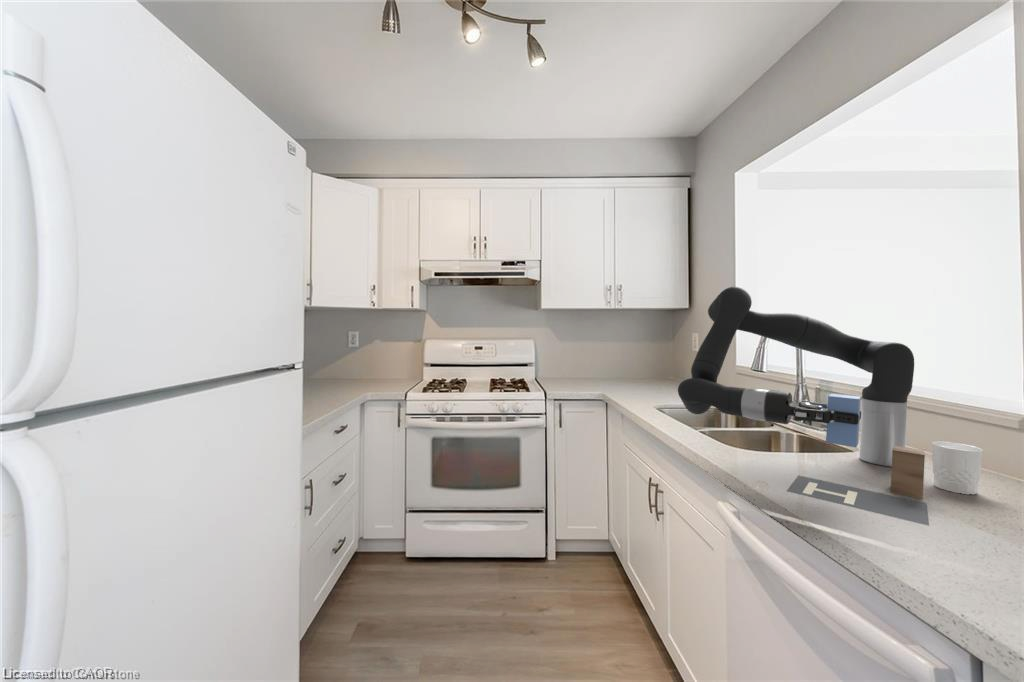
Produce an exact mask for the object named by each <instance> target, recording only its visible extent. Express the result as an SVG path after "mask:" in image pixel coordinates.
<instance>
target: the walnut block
mask: <svg viewBox="0 0 1024 682" xmlns="http://www.w3.org/2000/svg"><path fill="white" fill-rule="evenodd" d="M925 456H926V454H925V450H924V449H919V448H918V449H917V448H913V447H912V448H911V447H906V446H905V447H899V446H893V449H892V467H891V476H890V480H891V481H890V493H893V494H898V495H903V496H909V497H912V498H916V499H917V498H918V499H924V480H925V479H924V477H925V459H926V457H925Z"/></svg>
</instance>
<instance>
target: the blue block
mask: <svg viewBox="0 0 1024 682" xmlns="http://www.w3.org/2000/svg"><path fill="white" fill-rule="evenodd" d="M861 403H862V396H860V395H848V394H839V393H830V394H829V395H828V396H827V404H828V408H827V409H828V410H834V411H835V413H836V411H840V412H848V413H856V414H858V415H859V423H858V424H857V425H855V424H847V423H840V422H832V423H826V433H825V434H826V435H825V436H826V437H825V443H827V444H833V445H838V446H845V447H851V448H857V447H858V445H859V442H860V441H859V440H860V439H859V436H860V422H861V419H860V411H861Z"/></svg>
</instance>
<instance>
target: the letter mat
mask: <svg viewBox="0 0 1024 682" xmlns="http://www.w3.org/2000/svg"><path fill="white" fill-rule="evenodd" d="M786 492H789V493H793V494H797V495H801V496H803V497H805V496H806V497H809V498H812V499H813V498H814V499H817V500H821V501H826V502H830V503H834V504H838V505H842V506H846V507H850V508H854V509H858V510H864V511H867V512H871V513H874V514H879V515H884V516H887V517H892V518H896V519H900V520H904V521H909V522H912V523H917V524H921V525H925V526H930V518H929V512H928V503H927V502H924V501H920V500H915V499H910V498H906V497H900V496H898V495H897V496H896V495H891V494H886V493H884V492H883V493H881V492H878V491H872V490H868V489H863V488H859V487H854V486H849V485H846V484H845V485H844V484H841V483H835V482H833V481H832V482H831V481H827V480H826V481H825V480H822V479H816V478H813V477H808V476H803V475H797V476H796V478H795V479H794V480H793V482H792V483H791V484H790V486H789V487H788V488H787V489H786Z"/></svg>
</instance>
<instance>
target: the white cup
mask: <svg viewBox="0 0 1024 682" xmlns="http://www.w3.org/2000/svg"><path fill="white" fill-rule="evenodd" d="M931 452H932V453H931V454H932V457H931V458H932V461H931V462H932V474H933V484H934V487H936V488H938V489H940V490H944V491H948V492H950V491H951V492H950V493H956V494H960V493H961V494H962V495H969V494H972V495H971V496H973V495H977V494H978V490H979V488H978V487H979V481H980V477H981V476H980V475H981V471H982V462H983V453H984V449H982V448H980V447H978V446H973V445H969V444H965V443H960V442H959V443H958V442H953V441H952V442H951V441H942V440H941V441H938V440H937V441H932V442H931Z"/></svg>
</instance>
